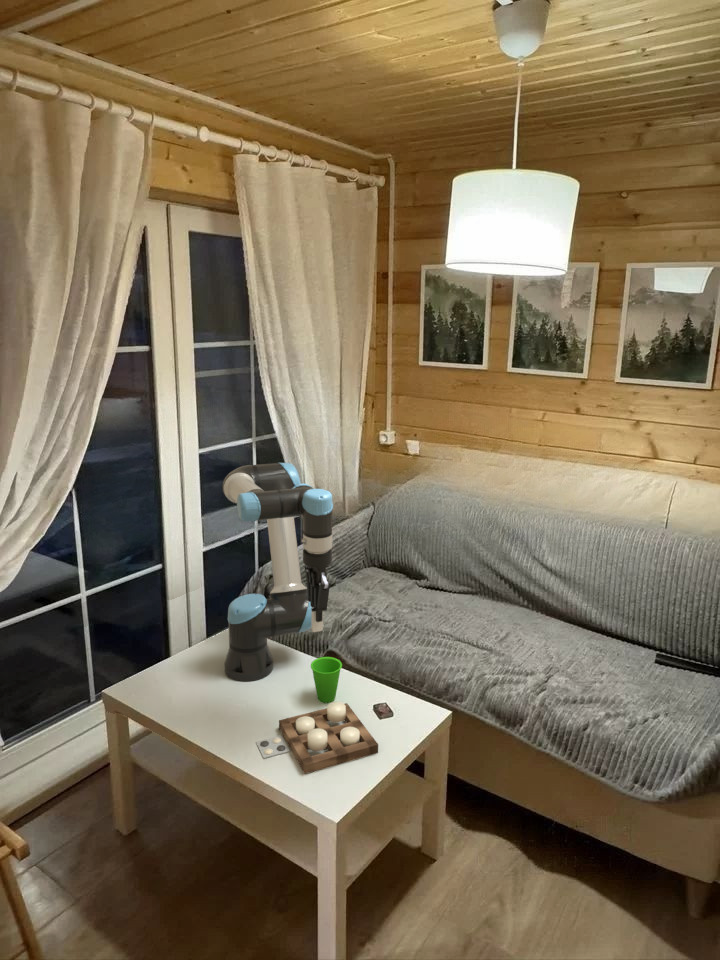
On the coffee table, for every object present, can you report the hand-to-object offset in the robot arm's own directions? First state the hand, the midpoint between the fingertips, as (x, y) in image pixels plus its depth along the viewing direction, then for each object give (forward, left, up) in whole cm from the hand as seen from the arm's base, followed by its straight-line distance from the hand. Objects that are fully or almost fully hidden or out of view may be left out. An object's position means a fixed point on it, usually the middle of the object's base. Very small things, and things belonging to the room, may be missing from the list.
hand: (317, 630), depth 184 cm
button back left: (+7, +3, -23) cm, 24 cm away
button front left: (+16, +3, -25) cm, 30 cm away
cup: (-7, +5, -27) cm, 28 cm away
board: (+11, -2, -26) cm, 29 cm away
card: (+8, -16, -26) cm, 32 cm away
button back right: (+7, -6, -25) cm, 27 cm away
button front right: (+16, -6, -23) cm, 29 cm away
